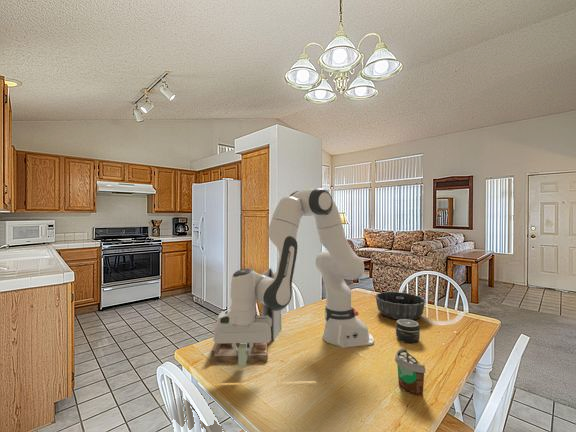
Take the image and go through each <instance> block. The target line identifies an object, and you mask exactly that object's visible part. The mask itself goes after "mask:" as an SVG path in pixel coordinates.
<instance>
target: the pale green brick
mask: <svg viewBox="0 0 576 432" xmlns="http://www.w3.org/2000/svg"><path fill="white" fill-rule="evenodd" d="M246 348H247V343H240V344H239V348H238V362H237V365H238V366H237V368H245V367H246V365H247V362H246V361H247V355H246Z"/></svg>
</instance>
